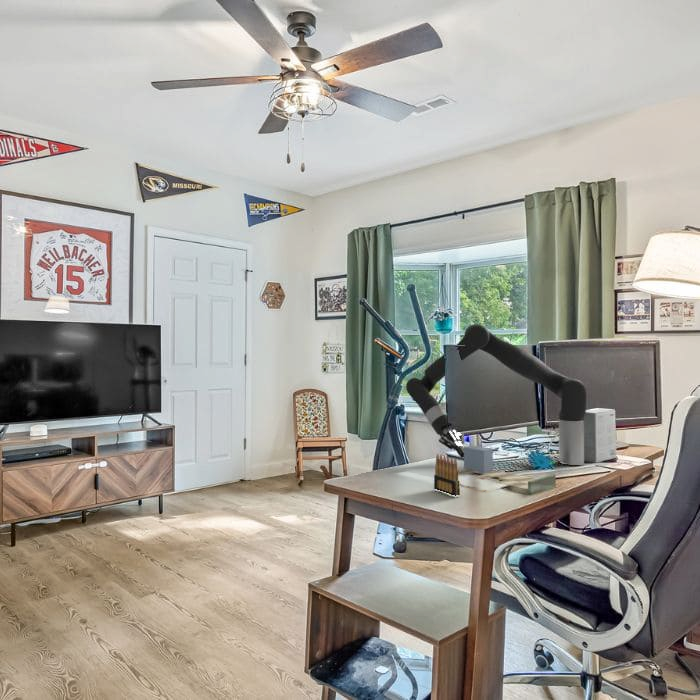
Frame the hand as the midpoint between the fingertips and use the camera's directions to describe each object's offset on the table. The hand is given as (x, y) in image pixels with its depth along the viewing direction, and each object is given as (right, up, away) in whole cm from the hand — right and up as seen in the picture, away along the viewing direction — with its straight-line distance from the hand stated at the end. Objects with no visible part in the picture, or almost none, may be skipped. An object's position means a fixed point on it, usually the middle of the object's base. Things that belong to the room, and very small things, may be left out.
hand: (464, 456), depth 208 cm
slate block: (+4, -4, -5) cm, 8 cm away
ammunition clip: (-12, -6, -31) cm, 34 cm away
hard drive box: (+58, -5, +19) cm, 61 cm away
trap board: (+10, -6, -15) cm, 19 cm away
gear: (+28, -6, -2) cm, 29 cm away
